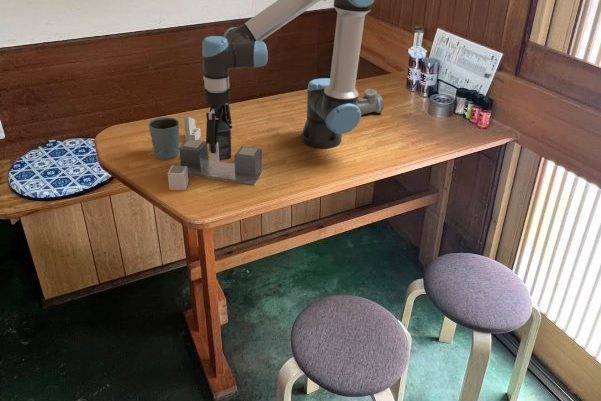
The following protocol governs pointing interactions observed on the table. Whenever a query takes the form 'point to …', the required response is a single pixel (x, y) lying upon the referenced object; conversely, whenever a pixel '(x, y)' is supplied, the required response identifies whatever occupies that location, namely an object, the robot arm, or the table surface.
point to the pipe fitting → (370, 102)
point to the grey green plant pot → (165, 137)
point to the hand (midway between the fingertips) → (220, 153)
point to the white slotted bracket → (191, 129)
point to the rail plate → (221, 163)
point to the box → (224, 141)
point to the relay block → (178, 178)
